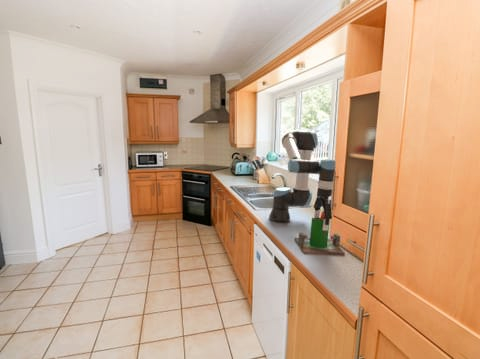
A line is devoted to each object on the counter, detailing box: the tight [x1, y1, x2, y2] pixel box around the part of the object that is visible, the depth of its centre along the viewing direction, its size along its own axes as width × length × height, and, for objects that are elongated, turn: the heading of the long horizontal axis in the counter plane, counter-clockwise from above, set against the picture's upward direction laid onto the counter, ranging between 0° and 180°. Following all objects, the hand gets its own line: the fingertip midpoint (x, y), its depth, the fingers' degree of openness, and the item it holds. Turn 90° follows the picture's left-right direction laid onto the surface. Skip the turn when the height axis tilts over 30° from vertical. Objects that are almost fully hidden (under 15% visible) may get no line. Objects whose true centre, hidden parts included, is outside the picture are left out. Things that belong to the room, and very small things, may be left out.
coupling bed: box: [294, 232, 346, 256], centre depth 144 cm, size 18×22×8 cm
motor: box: [309, 210, 331, 248], centre depth 143 cm, size 10×9×20 cm
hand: (320, 225), depth 143 cm, fingers open, 13 cm apart
